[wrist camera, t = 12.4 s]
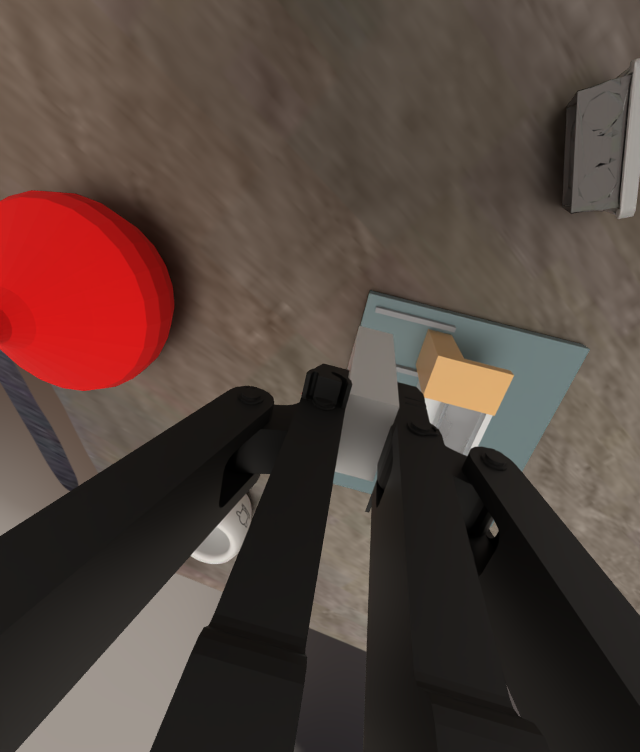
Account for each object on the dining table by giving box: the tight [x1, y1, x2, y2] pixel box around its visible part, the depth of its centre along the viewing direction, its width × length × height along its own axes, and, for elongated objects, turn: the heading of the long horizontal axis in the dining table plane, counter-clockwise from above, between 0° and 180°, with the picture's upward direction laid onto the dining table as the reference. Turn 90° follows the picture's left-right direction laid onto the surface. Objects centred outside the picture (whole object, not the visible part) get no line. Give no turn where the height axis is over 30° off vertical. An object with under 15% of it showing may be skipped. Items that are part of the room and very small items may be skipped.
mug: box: [191, 494, 252, 564], centre depth 50 cm, size 12×8×8 cm
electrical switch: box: [562, 58, 640, 219], centre depth 29 cm, size 9×5×9 cm, turn 10°
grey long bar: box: [436, 403, 481, 454], centre depth 39 cm, size 19×3×1 cm, turn 167°
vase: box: [0, 190, 174, 391], centre depth 35 cm, size 18×18×19 cm
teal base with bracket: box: [333, 290, 590, 527], centre depth 41 cm, size 24×22×9 cm
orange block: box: [416, 329, 514, 416], centre depth 37 cm, size 4×6×8 cm, turn 77°
